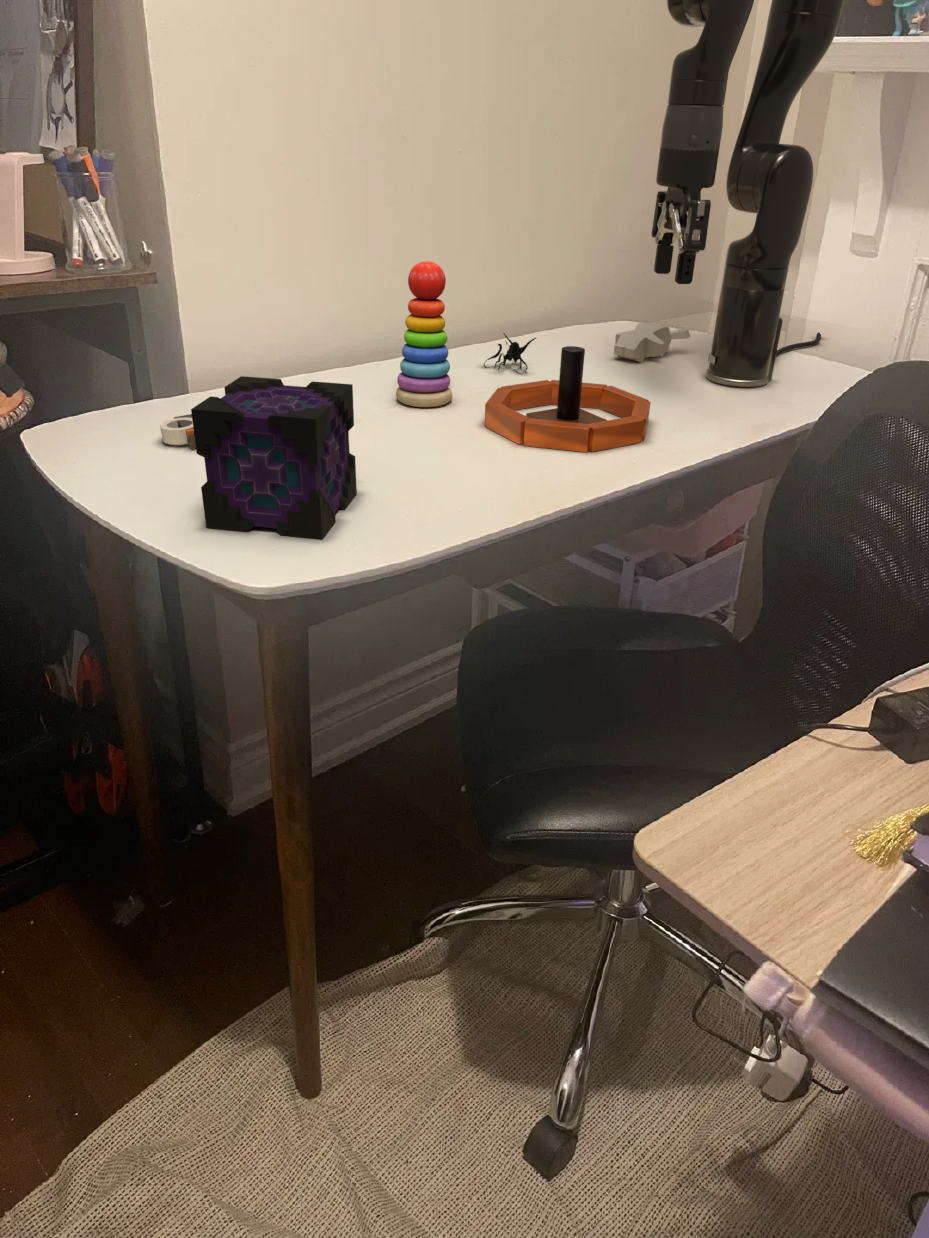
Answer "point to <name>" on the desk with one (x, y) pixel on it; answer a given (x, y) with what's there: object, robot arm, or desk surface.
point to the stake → (569, 391)
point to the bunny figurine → (646, 341)
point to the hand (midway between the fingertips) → (672, 278)
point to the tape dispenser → (179, 431)
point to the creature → (511, 353)
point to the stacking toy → (425, 341)
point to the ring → (567, 433)
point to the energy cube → (276, 456)
